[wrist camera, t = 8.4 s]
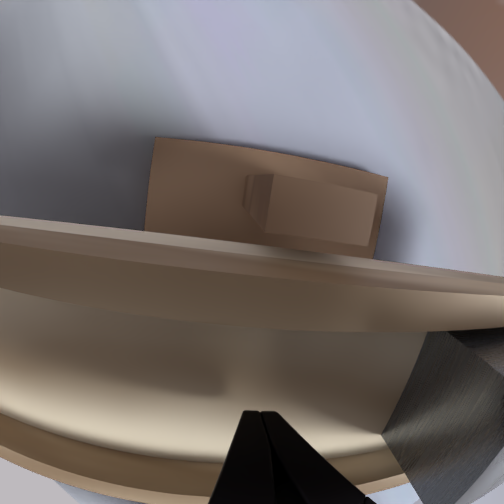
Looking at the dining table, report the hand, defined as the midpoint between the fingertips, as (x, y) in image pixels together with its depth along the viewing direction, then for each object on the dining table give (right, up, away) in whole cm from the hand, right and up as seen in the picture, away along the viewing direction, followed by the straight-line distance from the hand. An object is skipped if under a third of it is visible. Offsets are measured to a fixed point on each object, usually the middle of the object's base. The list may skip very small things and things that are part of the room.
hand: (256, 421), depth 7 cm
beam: (+1, 0, +2) cm, 2 cm away
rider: (+8, -1, +2) cm, 9 cm away
